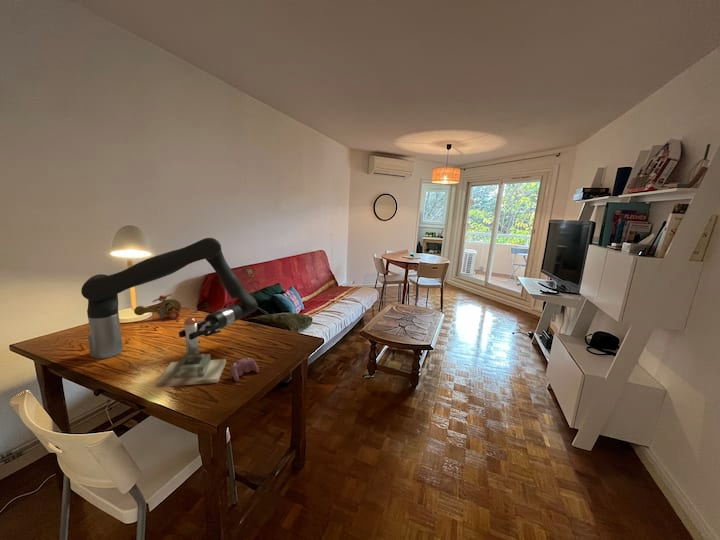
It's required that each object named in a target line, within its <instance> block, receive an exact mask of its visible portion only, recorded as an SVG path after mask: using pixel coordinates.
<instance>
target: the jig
mask: <svg viewBox="0 0 720 540" xmlns="http://www.w3.org/2000/svg"><path fill="white" fill-rule="evenodd" d="M226 363H227V359H226V358H223V359H211V353H197V354H195V355H187V354H182V356H181V357H180V359H179V361H171V362H170V363H169V365H168V366H167V367H166V369H164V371H163V373H162V374H161V375H160V376H159V378H158V379H157V380H156V381H155V384H154V385H155V388H159V387H161V388H163V387H174V386H176V387H177V386H188V385H189V386H191V385H201V384H216V383H218V382H219V381H220V379H221V375H222V374H223V371H224V368H225V366H226Z"/></svg>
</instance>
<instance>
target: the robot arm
mask: <svg viewBox="0 0 720 540" xmlns="http://www.w3.org/2000/svg"><path fill="white" fill-rule="evenodd" d="M202 260H206V261H207V262H208V263H209V264H210V266H211V267H212V268H213V270H214V271H215V274H217V276H218V278H219V281H220V282H221V284H222V285H223V287H224V289H225V290H226V292H227V293H228V296H229V297H230V298H231V299H232V300H233V299H234V300H235V299H239V300H240V301H239V302H238V303H236V304H233V305H229V306H228V307H225V308H222V309H219V310H217V311H214V312H212V313H210V314H208V315H206V316H205V318H203V319H204V320H199V321H197V331H195V332H193V333H190V334H189V339H190V340H192V339H194V338H196V337H198V338H199V337H209V336H212V335H215V334H218V333H220V332H221V330H222V329H224V328H226V327H228V326H230V325H231V324H233V323H234V322H236V321H238V320H240V319H242V318H245V317H246V316H249V315H250V314H252V313H254V312H256V311H257V310H258V306H259V305H258V302H257V299H256V298H255V297H254V296H253V295H252V294H251V293H250V292H248V291H247V289H246V288H244V286H243V285H242V283H241V281H240V279H239V278H238V277H237V275H236V273H235V272H234V271H233V270H232V269H231V267H230V266H229V264H228V262H227V261H226V258H225V257H224V254H223V251H222V245H221V243H220V241H218V240H217V239H215V238H213V237H205V238H202V239H201V240H199V241H196V242H194V243H192V244H190V245H187V246H185V247H182V248H179V249H174V250H171V251H168V252H163V253H162V254H157V255H154V256H152V257H148V258H146V259H144V260H142V261H139V262H138V263H135V264H133V265H132V266H130V267H128V268H126V269H124V270H121V271H118V272H115V273H113V274H108V275H107V274H95V275H92V276H90V277H89V278H88V279H87V280H86V281H85V282H84V283H83V285H82V287H81V289H80V290H81V291H80V292H81V296H83V297H84V298H85V299H86V300H87V302H88V303H87V311H86V312H87V319H88V325H89V326H88V327H89V334H88V335H87V340H88V341H87V342H88V347H89V354H90V358H94V359H108V358H111V357H115V356H117V355H119V354H121V353H122V352H123V350H124V348H123V347H124V346H123V339H122V331H121V322H120V316H119V296H118V294H120V293H122V292H124V291H126V290H130V288H134V287H137V286H141V285H143V284H148V283H149V282H150V283H151V282H153V281H157V280H159V279H161V278H164V277H167V276H169V275H172V274H174V273H176V272H178V271H180V270H182V269H183V268H185V267H187V266H188V265H190V264H192V263H195V262H199V261H202ZM178 337H179V338H183V337H184V338H185V329H182V330H181V331H179V332H178Z"/></svg>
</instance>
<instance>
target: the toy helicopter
mask: <svg viewBox="0 0 720 540" xmlns="http://www.w3.org/2000/svg"><path fill="white" fill-rule="evenodd" d="M172 295H173V294H172V293H170V294H166V295H159V296H158V298H156V299H154V300H152V303H154V302H157V301H158V302H159V303H158V304H156V305H152V306H151V305H150V306H143V305H138V306H136V307H135V308H134V310H133V312H134V315H136V316H143V315H145V314H148V313H157V314H158V315H159V318H160V319H161V320H163V319H165V318H169V319H170V320H176V319H178V318H179V316H180V311H181V309H182V304H181V302H180V301H179V300H178V299H176V298H168V297H171V296H172ZM167 298H168V299H167Z"/></svg>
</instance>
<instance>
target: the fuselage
mask: <svg viewBox="0 0 720 540" xmlns="http://www.w3.org/2000/svg"><path fill="white" fill-rule="evenodd" d="M197 322H198V321H197V319H196V318H195V317H188V318H186V319H185V321H184V330H185V336H184V338H185V339H184V340H185V349H186V350H185V351H186V355H195V354H200V349H199V347H200V346H199V336H198V337H196V338H194V339H192V340H190V339H189V334H190V333H193V332H195V331H197Z"/></svg>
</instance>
